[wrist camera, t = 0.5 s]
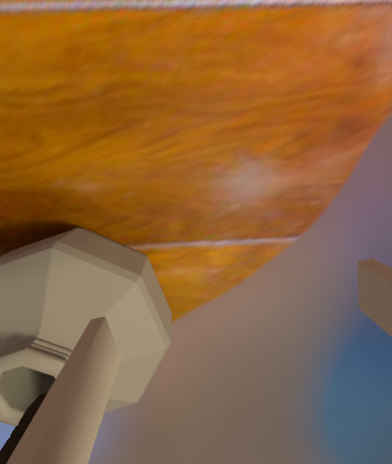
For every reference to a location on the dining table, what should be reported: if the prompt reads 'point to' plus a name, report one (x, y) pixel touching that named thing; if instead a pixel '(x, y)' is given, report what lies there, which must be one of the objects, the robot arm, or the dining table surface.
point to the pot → (77, 315)
